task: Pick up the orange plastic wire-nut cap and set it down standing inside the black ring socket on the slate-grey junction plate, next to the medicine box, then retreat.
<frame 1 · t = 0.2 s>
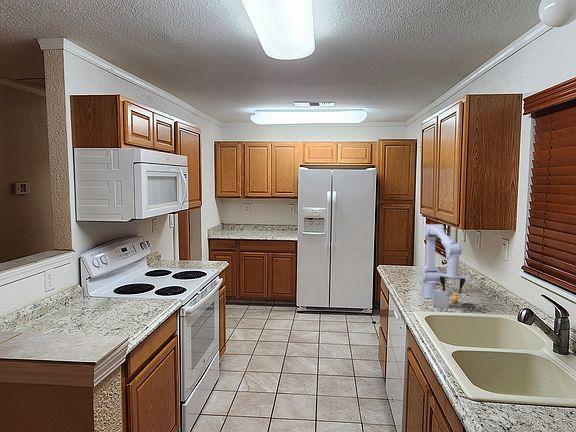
hand: (451, 292, 204), 10 cm above the countertop, fingers open, 7 cm apart
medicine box: (440, 306, 213), on the countertop
wire nut cap: (454, 303, 219), on the countertop
junction plate: (467, 307, 211), on the countertop
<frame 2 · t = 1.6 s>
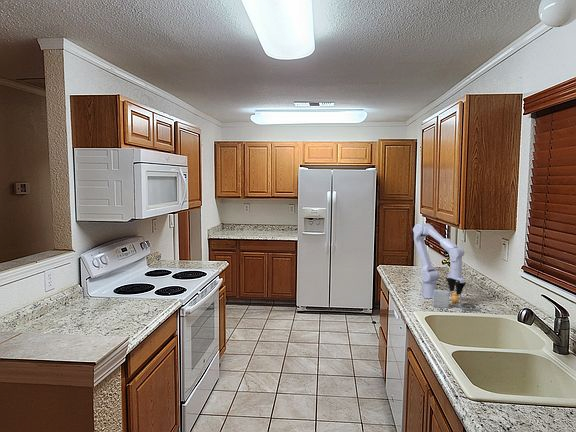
hand: (455, 292, 219), 6 cm above the countertop, fingers open, 7 cm apart
nothing on the countertop moved.
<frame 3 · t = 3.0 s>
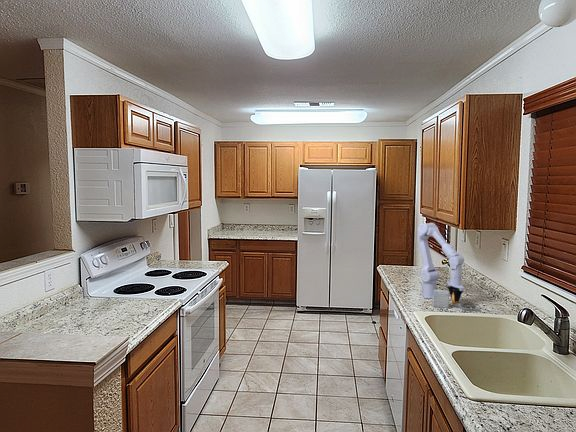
hand: (454, 300, 219), 2 cm above the countertop, fingers closed on wire nut cap, 3 cm apart
wire nut cap: (454, 303, 219), on the countertop, touching gripper
everything else where it was.
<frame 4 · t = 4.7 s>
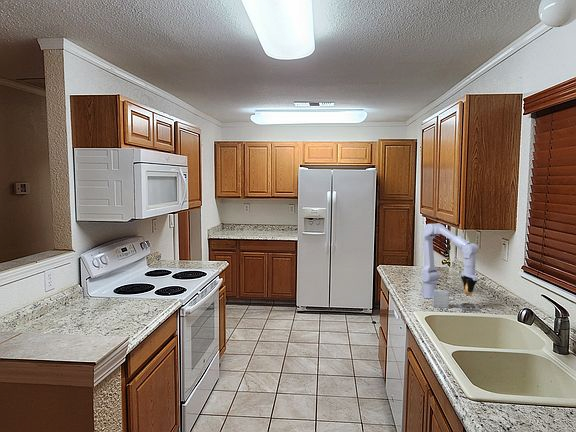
hand: (468, 290, 210), 9 cm above the countertop, fingers closed on wire nut cap, 3 cm apart
wire nut cap: (468, 294, 210), point 8 cm above the countertop, touching gripper
everything else where it was.
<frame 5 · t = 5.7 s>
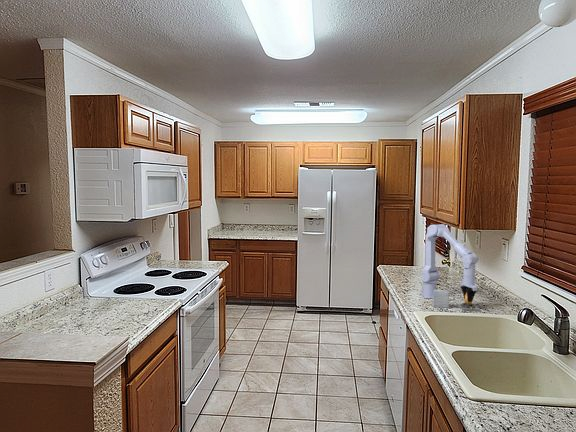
hand: (468, 300, 211), 4 cm above the countertop, fingers closed on wire nut cap, 3 cm apart
wire nut cap: (468, 303, 211), point 2 cm above the countertop, touching gripper
everything else where it was.
when the fingers open (4 cm above the countertop, at t = 6.4 s): wire nut cap drops 1 cm, resting on junction plate.
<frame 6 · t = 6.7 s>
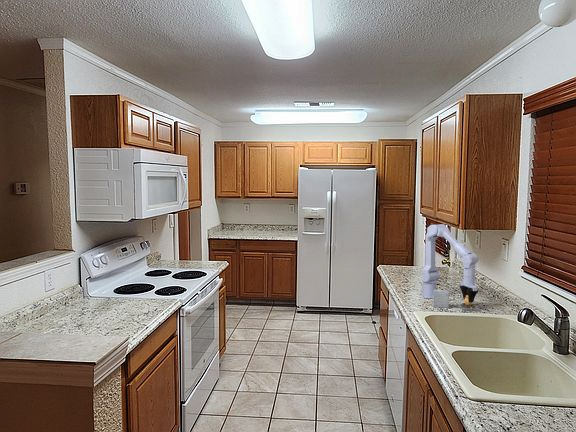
hand: (468, 300, 211), 4 cm above the countertop, fingers open, 6 cm apart
wire nut cap: (468, 306, 211), point 1 cm above the countertop, touching junction plate
everything else where it was.
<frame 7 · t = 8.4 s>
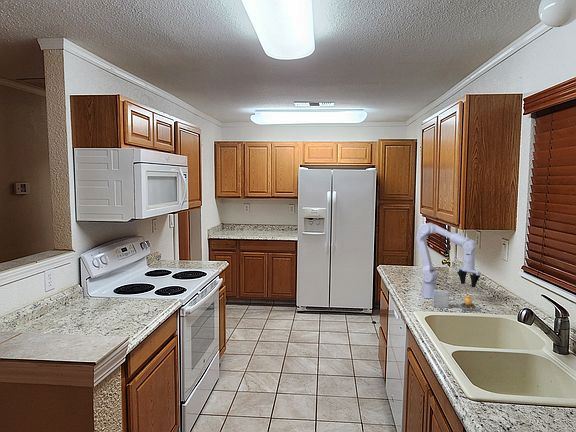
hand: (468, 285, 218), 10 cm above the countertop, fingers open, 7 cm apart
nothing on the countertop moved.
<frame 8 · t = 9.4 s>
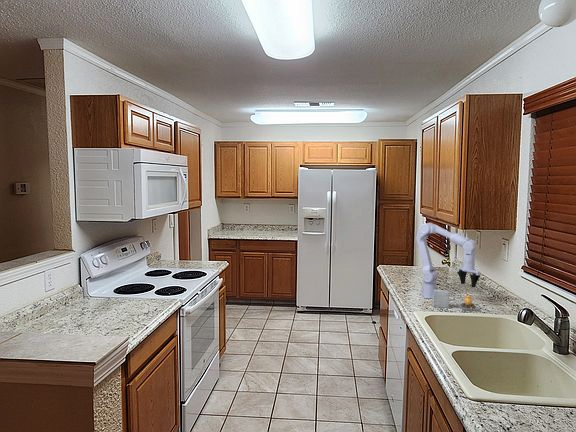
hand: (468, 285, 218), 10 cm above the countertop, fingers open, 7 cm apart
nothing on the countertop moved.
at the end: wire nut cap 0.0 cm off-centre on the junction plate, point 0.8 cm above the junction plate's base; wire nut cap tilted 0°; the gripper is holding nothing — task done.
